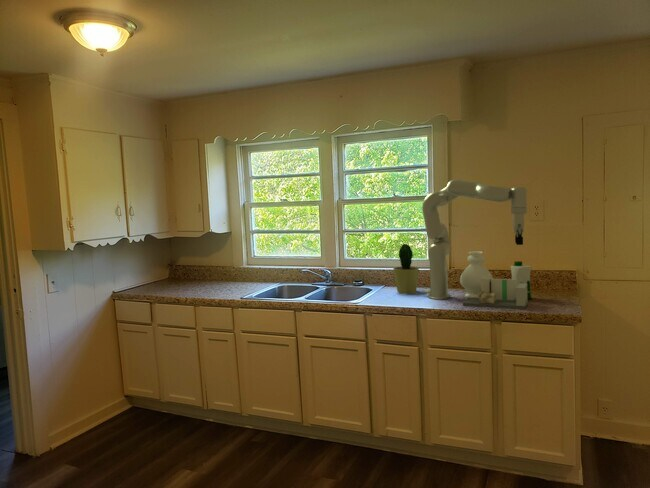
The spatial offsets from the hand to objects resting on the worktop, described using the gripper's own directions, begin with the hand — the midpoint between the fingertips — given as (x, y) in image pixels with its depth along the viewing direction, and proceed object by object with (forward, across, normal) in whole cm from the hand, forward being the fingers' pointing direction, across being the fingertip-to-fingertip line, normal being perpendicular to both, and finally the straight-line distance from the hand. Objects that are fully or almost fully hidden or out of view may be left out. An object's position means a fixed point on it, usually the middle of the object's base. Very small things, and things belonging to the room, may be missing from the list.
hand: (519, 243), depth 255 cm
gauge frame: (+31, +8, -12) cm, 34 cm away
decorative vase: (+31, -14, -22) cm, 41 cm away
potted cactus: (+32, -22, -63) cm, 74 cm away
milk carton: (+31, -7, +1) cm, 32 cm away
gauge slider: (+29, +8, -16) cm, 34 cm away
